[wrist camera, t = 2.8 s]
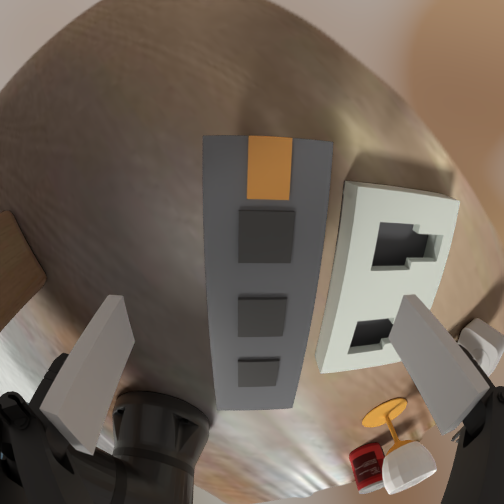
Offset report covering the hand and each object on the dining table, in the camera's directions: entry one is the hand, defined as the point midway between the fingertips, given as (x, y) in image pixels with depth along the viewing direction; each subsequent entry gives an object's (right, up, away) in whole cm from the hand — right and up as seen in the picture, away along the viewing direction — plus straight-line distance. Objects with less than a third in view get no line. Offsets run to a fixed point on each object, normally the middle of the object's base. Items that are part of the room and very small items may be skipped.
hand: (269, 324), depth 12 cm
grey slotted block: (-1, +5, +11) cm, 12 cm away
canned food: (+25, -41, +33) cm, 58 cm away
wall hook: (+31, -11, +21) cm, 38 cm away
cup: (+23, -26, +26) cm, 44 cm away
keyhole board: (+13, 0, +15) cm, 20 cm away
